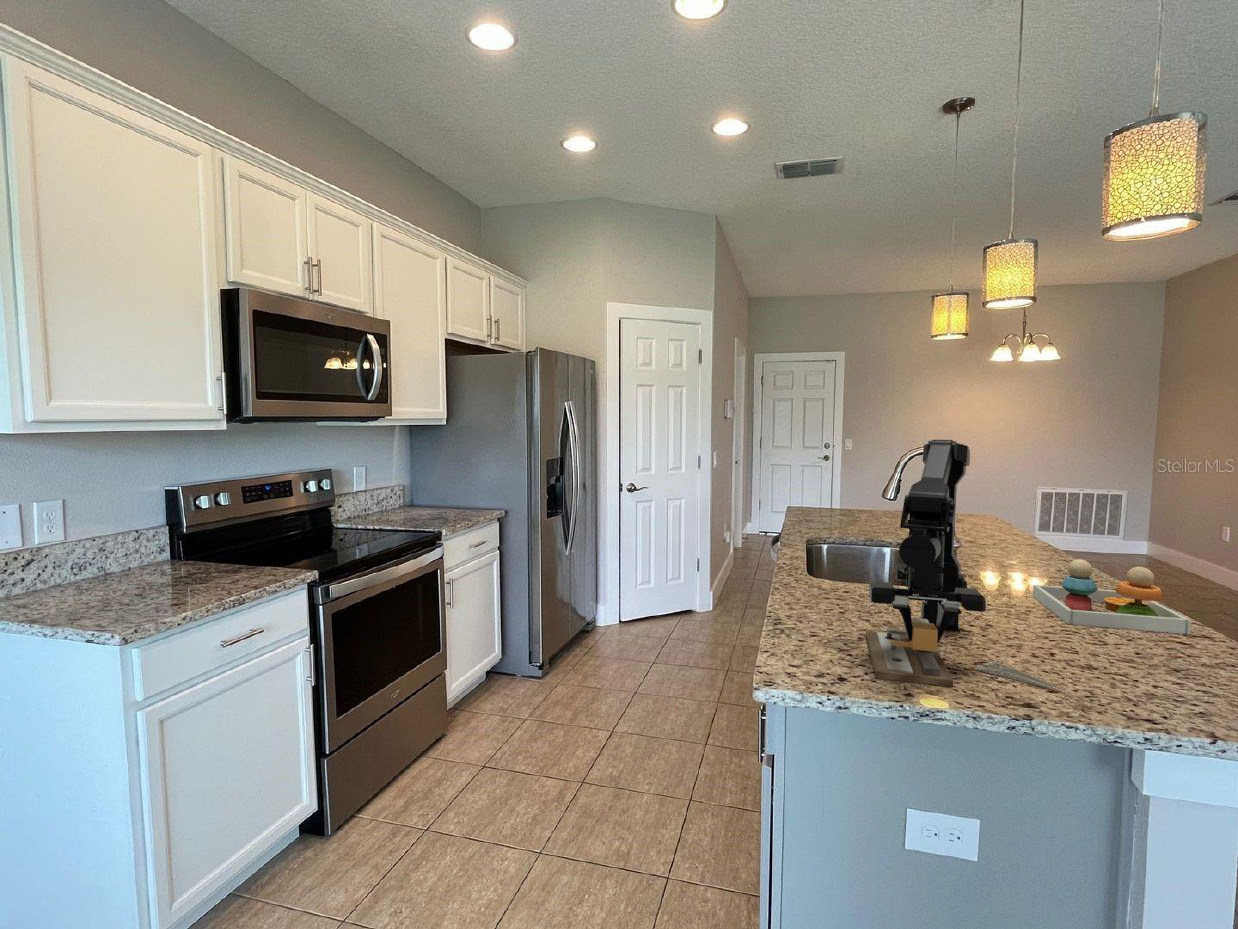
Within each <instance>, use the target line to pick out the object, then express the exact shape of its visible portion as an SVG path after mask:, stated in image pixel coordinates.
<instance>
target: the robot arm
mask: <svg viewBox="0 0 1238 929" xmlns="http://www.w3.org/2000/svg"><path fill="white" fill-rule="evenodd" d="M922 449H923V450H922V451H923V452H922V463H923V465H924V467H923V472H922V475H921V479H920V480H919V481H916V482H915V483H913V484H912V485H911V487H910V489H909V491H908V494H907V495H904V501H903V507H902V512H901V518H900V526H899V528H900V529H908V531H909V532H908V536H907V537H906V538H905V539H903V541H901V544H899V545H900V546H899V549H898V551H899V552H898V553H899V556H900V559H901V560H902V562H903V563H902V562H901V563H895V574H894V575H895V577H894V578H895V580H896V581H899V582H900V581H903V582H905V587H906V588H899V587H894V584H893V583H892V582H887V581H886V582H884V581H872V582H871V583H870V584H869V585H868V586H869V591H868V592H869V593H868V596H869V600H870V602H871V603H874V604H882V605H883V604H884V605H885V604H886V605H891V607H892V609H894V610H899V613H900V615H901V618H902V621H903V624H904V629H905V628H906V631H907V635H908V638H909V641H912V620H911V618H912V609H911V608H912V607H911V606H910V604H909V601H911V600H912V601H921V609H920V610H921V614H920V616H921V617H920V619H927V620H928V621H929V623H933V624H934V625H935V626H936V628H937V630H938V639H937V645H938V644H939V642H940V640H941V639H942V637H943V635H944V633H945V631H947V632H957V633H959V632H961V628H960V626H959V622H960V621H959V618H960V617H959V616H960V615H962V612H963V611H962V610H961V608H960V607H962V608H963V609H964V610H966V612H967V611H969V612H979V613H981V612H983V613H984V612H986V605H987V602H986V598H985V596H983V594H982V593H981V592H980V591H979V590H978V589H977V588H969V587H968V582H967V580H966V578H965V575H964V574H962V565H961V563H960V561H959V560H958V558H957V557H956V555H955V553H954V552H955V533H956V532H955V529H956V510H957V508H956V507H957V489H958V488H957V487H958V484H959V483H960V482H961V481H962V479H963V478H964V477H965V475H966V472H967V467H970V463H971V451H970V447H969V446H968V445H965V444H964V443H958V442H957V441H956V440H953V439H932V440H928V441H927V443H925V444H923V448H922Z"/></svg>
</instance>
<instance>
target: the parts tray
mask: <svg viewBox="0 0 1238 929" xmlns="http://www.w3.org/2000/svg"><path fill="white" fill-rule="evenodd" d="M1032 587H1033V589H1032V597H1033V598H1034V599H1035V600H1036V601H1038V602H1039V603H1040V604H1042V605H1043V606H1044V607H1045V608H1047V609H1048V610H1049V611H1051V612H1052V613H1053V614H1054V615H1056V616H1057V617H1058V619H1060V620H1061V621H1063V622H1064V623H1065V624H1067V625H1073V626H1074V625H1075V626H1087V627H1097V628H1110V629H1120V630H1121V629H1122V630H1132V631H1133V630H1134V631H1146V632H1157V633H1165V634H1166V633H1167V632H1168V633H1170V634H1178V635H1179V634H1181V635H1191V631H1192V620H1191V619H1189V618H1187V617H1185V616H1184V615H1181V614H1180V613H1179V612H1178V613H1177V612H1176V611H1174V610H1172V609H1170V608H1169V607H1167V606H1164V605H1163V604H1161V603H1158V601H1145V600H1143V601H1142V602H1143V603H1146V604H1147V605H1148V606H1149V607H1150V608H1151V609H1153V610H1154V611H1155V612H1156V613H1157V615H1158V616H1159V617H1156V616H1143V615H1131V614H1118V613H1116V612H1106V611H1105V612H1104V611H1092V610H1091V611H1080V610H1071V609H1070V608H1069V607H1067V606H1066V605H1065V603H1063V602H1062V600H1063V601H1065V600H1066V595H1068V594H1069V593H1070V592H1068V591H1066V590H1065V589H1064V588H1063V587H1062V586H1056V585H1055V586H1053V585H1039V584H1038V585H1037V584H1033V586H1032ZM1097 589H1098V588H1097ZM1088 597H1089V598H1091V601H1092V603H1101V602H1105V601H1104V598H1107V597H1118V598H1127V599H1133V600H1135V599H1134V598H1129V597H1126V596H1123V595H1120V594H1118V593H1117V592H1116V590H1114V589H1113V590H1111V589H1098V590H1097V591H1096V592H1094V593H1092V594H1090V595H1088ZM1060 600H1061V601H1060ZM1093 601H1095V602H1093Z"/></svg>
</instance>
